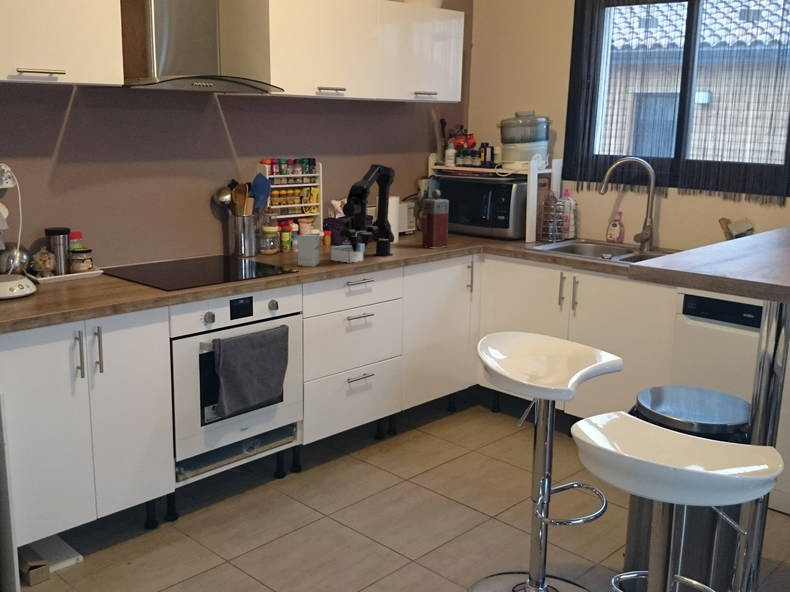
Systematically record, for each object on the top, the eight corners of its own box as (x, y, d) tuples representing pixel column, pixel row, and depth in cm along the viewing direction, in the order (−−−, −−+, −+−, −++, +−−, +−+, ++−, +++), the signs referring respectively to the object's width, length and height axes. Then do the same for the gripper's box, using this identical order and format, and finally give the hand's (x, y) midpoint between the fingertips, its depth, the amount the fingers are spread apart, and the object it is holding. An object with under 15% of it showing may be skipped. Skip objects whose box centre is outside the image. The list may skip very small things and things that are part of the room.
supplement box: (314, 266, 331) (314, 236, 329) (297, 265, 333) (297, 235, 330) (319, 263, 338) (319, 234, 336) (303, 263, 340) (302, 233, 337)
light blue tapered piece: (330, 251, 346) (330, 241, 346) (344, 249, 353) (344, 239, 352) (355, 255, 337) (355, 245, 336) (369, 252, 344) (369, 243, 343)
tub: (330, 260, 347) (330, 249, 346) (344, 258, 354) (344, 246, 353) (349, 263, 340) (349, 251, 339) (363, 260, 347) (363, 249, 346)
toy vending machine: (418, 247, 391) (419, 189, 385) (436, 245, 397) (437, 188, 391) (429, 249, 384) (431, 190, 378) (447, 247, 390) (449, 190, 384)
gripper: (360, 211, 350) (360, 246, 354) (330, 214, 336) (330, 251, 340) (379, 213, 344) (379, 249, 347) (349, 216, 329) (349, 254, 333)
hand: (359, 251), depth 342 cm, fingers open, 5 cm apart
